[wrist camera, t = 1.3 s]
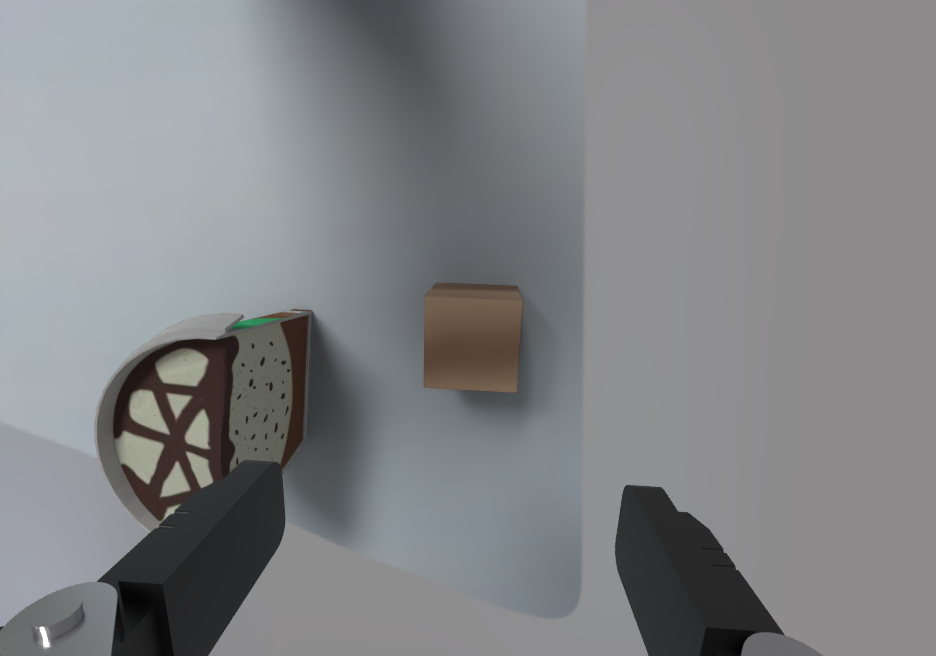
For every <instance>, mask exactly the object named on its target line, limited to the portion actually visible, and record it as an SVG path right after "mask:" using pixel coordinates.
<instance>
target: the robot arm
mask: <svg viewBox="0 0 936 656" xmlns="http://www.w3.org/2000/svg"><path fill="white" fill-rule="evenodd" d="M284 528H285V507H284V493H283V479H282V469H281V466H280V464H279V463H278V462H271V461H255V460H244V461H242V462H241V463H239V464H238V465H237V466H236V467H235V468H234V469H233V470H232V471H231V472H230V473H229V474H228V475H227V476H226V477H225V478H224V479H223V480H222V481H215V482H213V483H211V484H209V485H208V486H206V487H204V488H202V489H200V490H199V491H197V492H195V493H193V494H192V495H191V496H190V497H188V498H187V499H186V500H185V501H184V502H183V503H182V504H181V505H180V506H179V507H178V508H176V509H175V510H174V514H170V515H169V516H168V517H167V518H166V519H164V520H163V521H162V522H161V523H160V524H159V527H158V528H155V529H154V530H153V531H151V532H150V533H149V534H148V535H147V536H146V537H145V538H144V539H143V540H142V541H141V542H140V543H138V544H137V545H136V546H135V547H134V548H133V549H132V550H131V551H130V552H129V553H127V554H126V555H125V556H124V557H123V558H122V559H121V560H120V561H119V562H118V563H117V564H115V565H114V566H113V567H112V568H111V569H110V570H109V571H108V572H107V573H106V574H105V575H103V576H102V577H101V578H100V579H99V580H98V581H97V582H87V583H81V584H76V585H73V586H69V587H66V588H63V589H61V590H58V591H56V592H53V593H51V594H49V595H47V596H45V597H43V598H41V599H39V600H37V601H36V602H34V603H32V604H31V605H29V606H28V607H26V608H25V609H23V610H22V611H21V612H19V613H18V614H17V615H15V616H14V617H13V618H12V619H11V620H10V621H9V622H8V623H7V624H6V625H5V626H3V627H0V656H208V655H209V653H210V652H211V650H212V649H213V647H214V646H215V644H216V642H217V641H218V639H219V638H220V636H221V635H222V633H223V632H224V630H225V629H226V627H227V626H228V624H229V623H230V621H231V620H232V618H233V616H234V615H235V613H236V612H237V610H238V609H239V607H240V606H241V604H242V602H243V601H244V599H245V598H246V596H247V595H248V593H249V592H250V590H251V589H252V587H253V586H254V584H255V582H256V581H257V579H258V578H259V576H260V575H261V573H262V572H263V570H264V569H265V567H266V565H267V564H268V562H269V561H270V559H271V558H272V556H273V555H274V553H275V552H276V550H277V548H278V547H279V545H280V542H281V540H282V536H283V533H284ZM615 556H616V564H617V569H618V573H619V576H620V579H621V581H622V584H623V587H624V589H625V592H626V595H627V598H628V600H629V603H630V606H631V608H632V611H633V614H634V617H635V620H636V622H637V625H638V628H639V630H640V633H641V636H642V638H643V641H644V644H645V647H646V649H647V652H648V655H649V656H823V655H821V654H820V653H818V652H817V651H816V650H814V649H813V648H811V647H809V646H807V645H805V644H804V643H802V642H799V641H797V640H795V639H793V638H790V637H787V636H785V635H784V633H783V632H782V630H781V629H780V628H779V626H778V625H777V624H776V622H775V621H774V619H773V618H772V616H771V615H770V614H769V612H768V611H767V609H766V608H765V607H764V605H763V604H762V602H761V601H760V600H759V598H758V597H757V596H756V594H755V593H754V591H753V590H752V588H751V587H750V586H749V584H748V583H747V582H746V580H745V579H744V577H743V576H742V575H741V573H740V572H739V571H738V570H736V568H735V565H734V563H733V562H732V561H731V559H730V558H729V556H728V555H727V553H724V551H723V548H722V546H721V545H720V544H719V542H718V541H717V539H716V538H715V537H714V535H713V534H712V533H711V531H710V530H709V529H708V528H707V527H705V526H704V525H703V524H702V523H701V522H699V521H698V520H697V519H696V518H694V517H693V516H692V515H691V514H689V513H688V512H678V511H677V509H676V508H675V506H674V505H673V503H672V501H671V500H670V498H669V497H668V495H667V494H666V492H665V491H664V490H663V489H662V488H661V487H650V486H635V485H626V486H625V488H624V490H623V495H622V501H621V508H620V515H619V522H618V529H617V535H616V543H615Z"/></svg>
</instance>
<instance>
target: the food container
mask: <svg viewBox="0 0 936 656" xmlns="http://www.w3.org/2000/svg"><path fill="white" fill-rule="evenodd" d="M311 317H312V310H297V309H293V310H289V311H285V312H280V313H276V314H272V315H267V316H263V317H258V318H254V319H250V320H245V321H241V322H239V321H240V320H241V319H243V318H244V316H243V315H241V314H224V313H223V314H212V315H203V316H199V317H195V318H191V319H188V320H184V321H182V322H179V323H177V324H175V325H173V326H171V327H169V328H167V329H165V330H164V331H162V332H161V333H159V334H158V335H157V336H155V337H154V338H152V339H151V340H149V341H148V342H147V343H145V344H144V345H142V346H141V347H140V348H138V349H137V350H135V351H134V352H133V353H132V354H131V355H130V356H129V357H128V358H127V359H126V360H125V361H124V362H123V363H122V364H121V365H120V367H119V368H118V370H117V371H116V372H115V373H114V375H113V376H112V377H111V379H110V381H109V382H108V384H107V385H106V387H105V389H104V390H103V393H102V396H101V398H100V401H99V404H98V406H97V412H96V418H95V445H96V451H97V457H98V460H99V463H100V466H101V469H102V472H103V475H104V477H105V479H106V481H107V483H108V485H109V487H110V489H111V491H112V493H113V494H114V495H115V497H116V498H117V500H118V501H119V502H120V504H121V505H122V507H123V508H124V509H125V510H126V511H127V512H128V513H129V514H130V516H131V517H132V518H133V519H134V520H135V521H136V522H137V523H138V524H140V525H141V526H142V527H143V528H144V529H145V530H147V531H148V532H149V533H150V532H151V531H153V530H154V529H155V528H158V527H159V524H160V523H161V522H162V521H163V520H164V519H166V518H167V517H168V516H169V515H170V514H174V510H175V509H176V508H178V507H179V506H180V505H181V504H182V503H183V502H184V501H185V500H186V499H187V498H188V497H190V496H191V495H192V494H193V493H195V492H197V491H199V490H200V489H202V488H204V487H206V486H208V485H209V484H211V483H213V482H215V481H222V480H223V479H224V478H225V477H226V476H227V475H228V474H229V473H230V472H231V471H232V470H233V469H234V468H235V467H236V466H237V465H238V464H239V463H241V462H242V461H244V460H255V461H271V462H278V463H279V464H280V466H281V469H282V474H283V472H284V471H285V470H286V468H287V467H288V465H289V464H290V463H291V461H292V460H293V458H294V457H295V455H296V454H297V453H298V451H299V450H300V448H301V447H302V445H303V444H304V443H305V441H306V429H307V406H308V384H309V362H310V340H311Z"/></svg>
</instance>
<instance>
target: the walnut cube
mask: <svg viewBox="0 0 936 656" xmlns="http://www.w3.org/2000/svg"><path fill="white" fill-rule="evenodd" d="M522 307H523V300H522V297H521V295H520V292H519V290H518V287H517V286H504V285H481V284H459V283H436V284H435V285H434V286H433V287H432V289H431V290H430V291H429V292H428V293H427V295H426V296H425V330H424V388H439V389H458V390H476V391H494V392H513V393H517V378H518V364H519V350H520V336H521V322H522Z"/></svg>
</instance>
